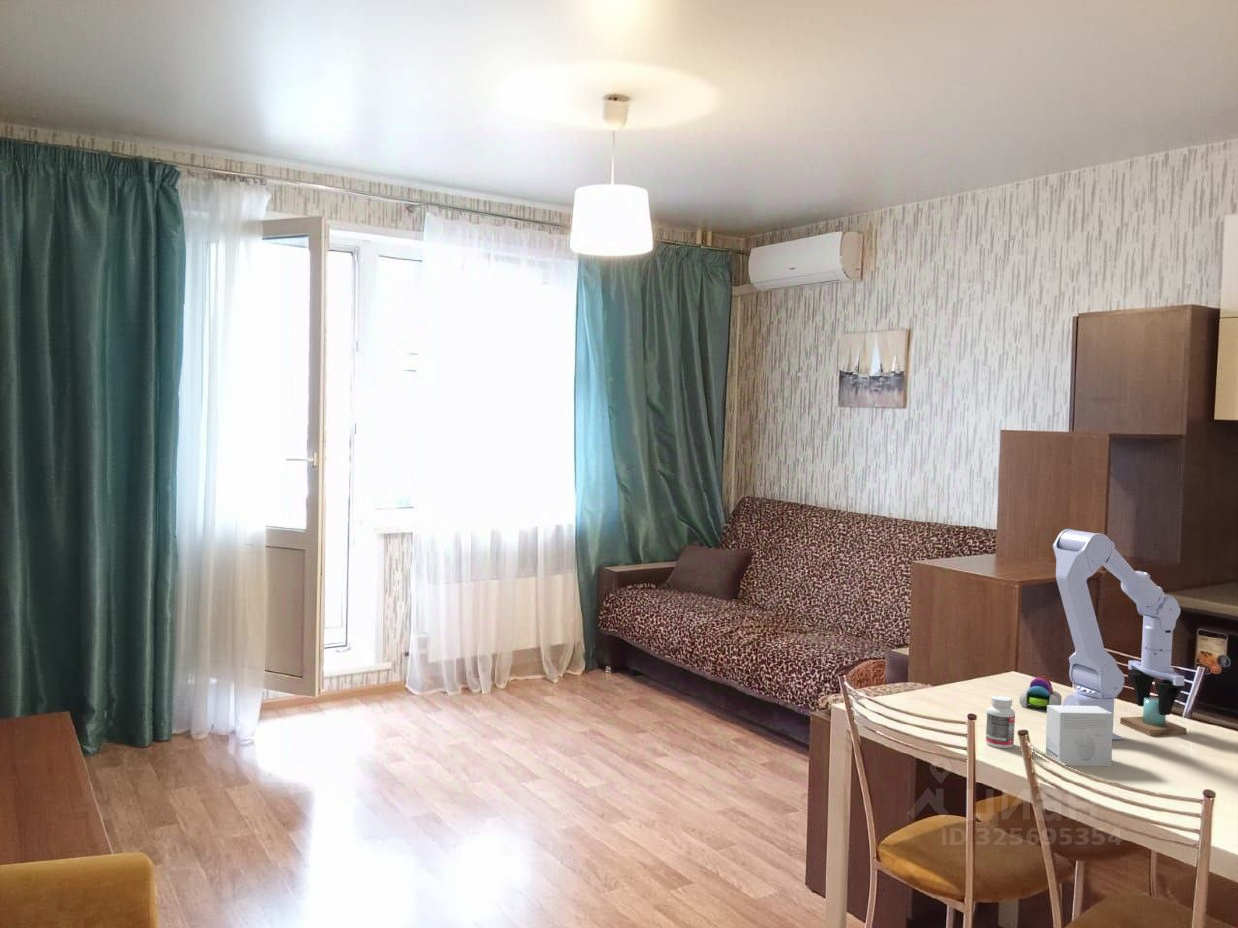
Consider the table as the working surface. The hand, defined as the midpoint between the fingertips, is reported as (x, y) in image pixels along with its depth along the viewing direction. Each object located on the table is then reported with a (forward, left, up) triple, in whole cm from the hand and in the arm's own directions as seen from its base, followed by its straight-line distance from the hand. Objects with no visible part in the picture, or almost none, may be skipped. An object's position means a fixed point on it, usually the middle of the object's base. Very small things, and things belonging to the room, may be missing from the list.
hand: (1153, 710), depth 215 cm
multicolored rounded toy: (-14, +20, -5) cm, 25 cm away
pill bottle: (-40, -5, -5) cm, 41 cm away
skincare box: (-30, -16, -5) cm, 34 cm away
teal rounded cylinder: (0, 0, -3) cm, 3 cm away
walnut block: (0, 0, -5) cm, 5 cm away
